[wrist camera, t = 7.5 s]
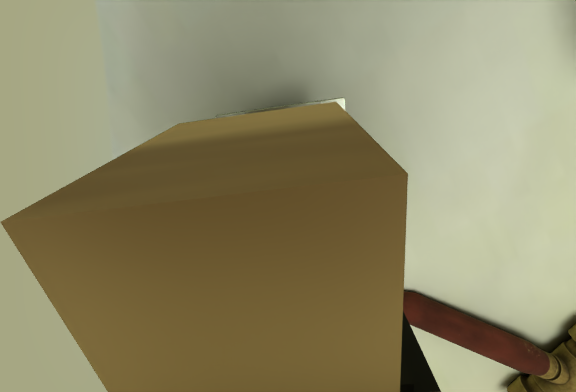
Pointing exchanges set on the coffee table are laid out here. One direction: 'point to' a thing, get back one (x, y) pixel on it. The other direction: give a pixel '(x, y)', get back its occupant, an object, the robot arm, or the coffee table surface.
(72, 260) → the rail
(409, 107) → the coffee table surface
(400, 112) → the coffee table surface
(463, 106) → the coffee table surface
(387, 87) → the coffee table surface
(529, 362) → the gavel
